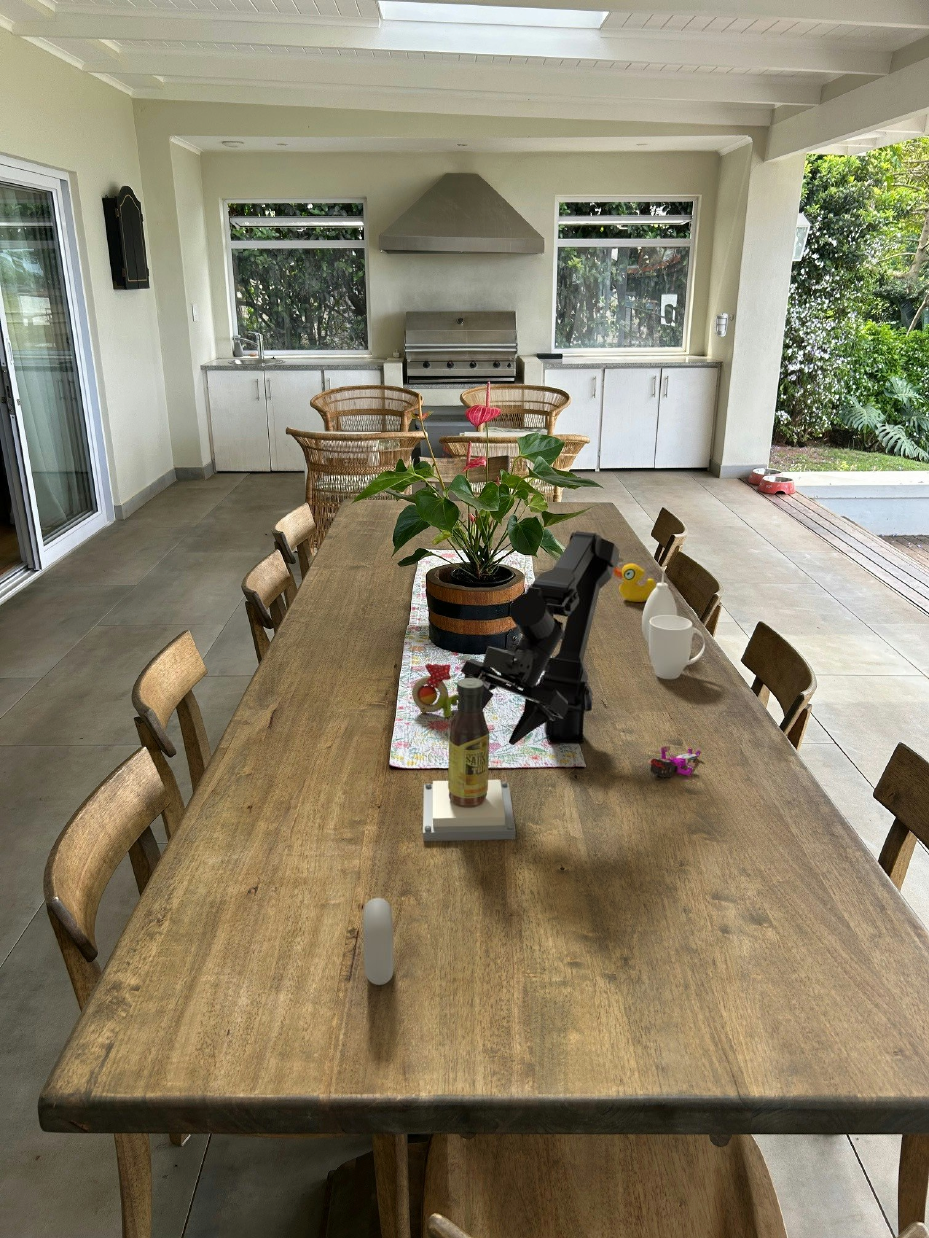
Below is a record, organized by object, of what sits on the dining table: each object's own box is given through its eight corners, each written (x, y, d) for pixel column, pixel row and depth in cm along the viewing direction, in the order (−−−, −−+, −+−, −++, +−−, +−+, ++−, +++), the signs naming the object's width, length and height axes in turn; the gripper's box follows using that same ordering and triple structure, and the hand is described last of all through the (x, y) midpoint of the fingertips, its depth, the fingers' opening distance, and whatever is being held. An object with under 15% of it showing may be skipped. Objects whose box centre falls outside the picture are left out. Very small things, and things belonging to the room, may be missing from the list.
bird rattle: (421, 730, 178) (463, 716, 175) (397, 680, 175) (439, 665, 172) (427, 716, 183) (468, 702, 181) (404, 667, 180) (445, 653, 178)
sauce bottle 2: (678, 653, 207) (684, 578, 201) (643, 653, 207) (648, 577, 201) (671, 640, 214) (677, 567, 208) (637, 640, 215) (642, 567, 208)
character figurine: (680, 757, 165) (641, 774, 157) (684, 731, 164) (646, 747, 155) (707, 770, 161) (670, 787, 153) (713, 743, 160) (675, 760, 151)
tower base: (508, 790, 153) (508, 774, 152) (515, 838, 140) (515, 822, 138) (424, 792, 152) (423, 776, 151) (423, 840, 139) (422, 824, 138)
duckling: (609, 601, 240) (611, 565, 237) (613, 595, 245) (615, 559, 241) (652, 606, 237) (655, 569, 233) (656, 600, 241) (658, 563, 238)
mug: (649, 682, 193) (652, 628, 189) (643, 666, 201) (646, 614, 197) (705, 683, 192) (710, 629, 188) (697, 667, 200) (702, 615, 196)
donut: (366, 946, 117) (363, 881, 114) (394, 945, 118) (391, 880, 114) (364, 1004, 108) (361, 935, 105) (394, 1003, 108) (391, 934, 105)
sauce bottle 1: (469, 813, 141) (469, 696, 134) (440, 798, 145) (438, 684, 138) (497, 796, 145) (498, 682, 138) (468, 783, 149) (467, 671, 142)
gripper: (467, 612, 149) (420, 695, 145) (559, 642, 137) (510, 734, 133) (499, 643, 157) (455, 723, 153) (588, 674, 145) (543, 761, 141)
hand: (488, 734), depth 145 cm, fingers open, 9 cm apart
